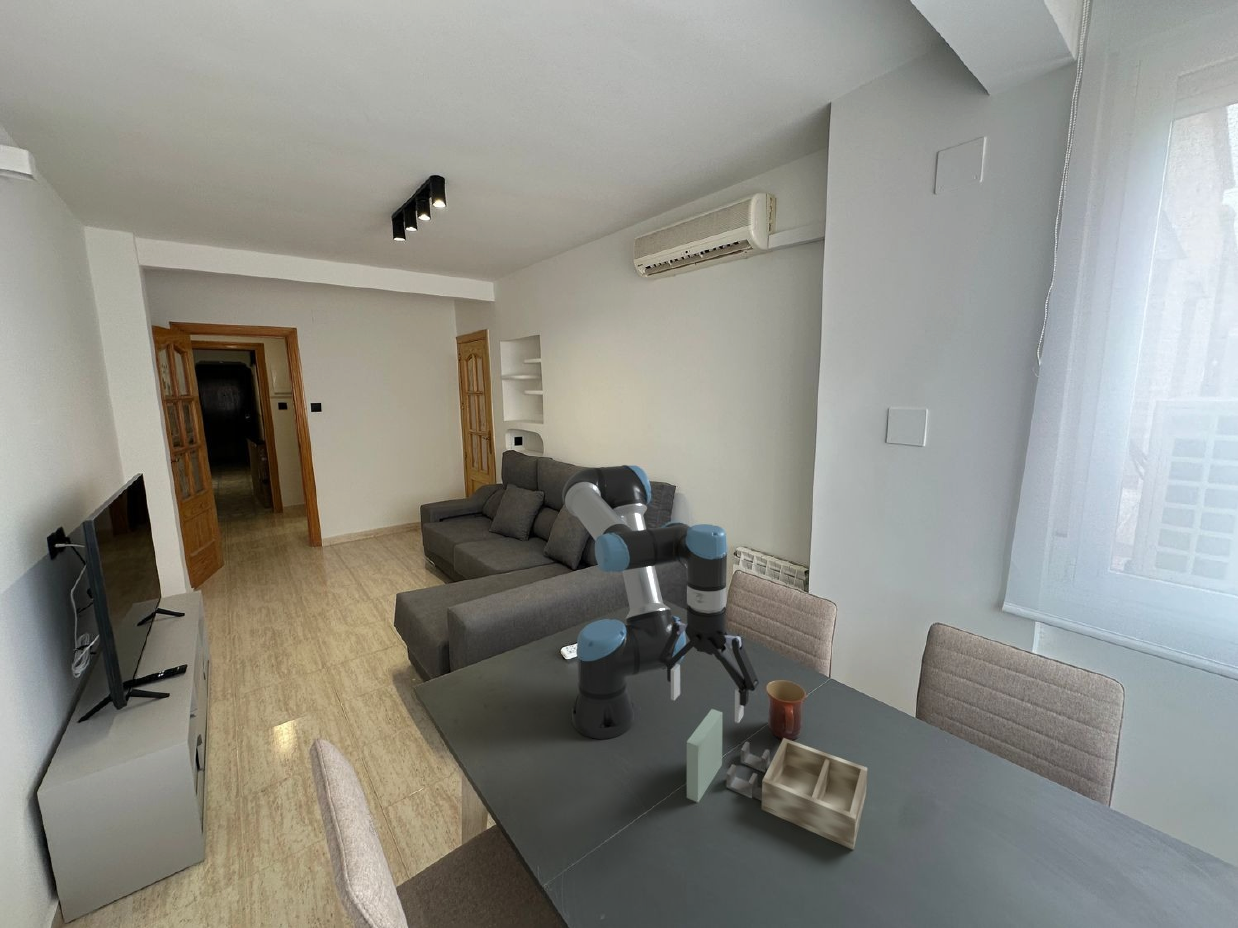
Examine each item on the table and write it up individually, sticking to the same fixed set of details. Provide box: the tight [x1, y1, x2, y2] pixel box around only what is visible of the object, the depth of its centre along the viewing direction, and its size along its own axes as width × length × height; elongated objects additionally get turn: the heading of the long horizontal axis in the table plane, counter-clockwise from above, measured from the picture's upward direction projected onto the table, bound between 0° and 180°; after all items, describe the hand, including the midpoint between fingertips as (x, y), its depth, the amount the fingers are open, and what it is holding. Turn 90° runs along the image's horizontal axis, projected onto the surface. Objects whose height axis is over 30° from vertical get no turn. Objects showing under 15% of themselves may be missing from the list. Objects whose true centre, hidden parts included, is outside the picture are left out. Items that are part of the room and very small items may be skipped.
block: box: [686, 708, 723, 803], centre depth 103 cm, size 3×12×12 cm, turn 146°
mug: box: [765, 679, 807, 741], centre depth 115 cm, size 12×9×10 cm
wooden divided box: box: [726, 738, 868, 851], centre depth 99 cm, size 24×14×6 cm, turn 56°
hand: (706, 707), depth 101 cm, fingers open, 13 cm apart
